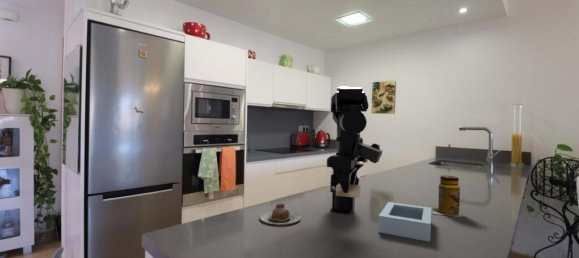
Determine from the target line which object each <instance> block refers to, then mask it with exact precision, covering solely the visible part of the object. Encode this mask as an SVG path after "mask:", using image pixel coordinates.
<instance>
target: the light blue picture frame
mask: <svg viewBox="0 0 579 258" xmlns="http://www.w3.org/2000/svg"><path fill="white" fill-rule="evenodd" d="M429 207H430V206H429ZM429 207H427V206H419V205H413V204H407V203H405V204H404V203H399V202H393V201H387V203H386V205H385V206H384V208H383V209H382V211H380V213H379V215H378V233H381V234H386V235H392V236H398V237H403V238H408V239H413V240H418V241H419V240H420V241H424V242H429V243H430V242H431V234H432V233H431V231H432V211H431V208H432V207H430V208H429Z"/></svg>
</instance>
